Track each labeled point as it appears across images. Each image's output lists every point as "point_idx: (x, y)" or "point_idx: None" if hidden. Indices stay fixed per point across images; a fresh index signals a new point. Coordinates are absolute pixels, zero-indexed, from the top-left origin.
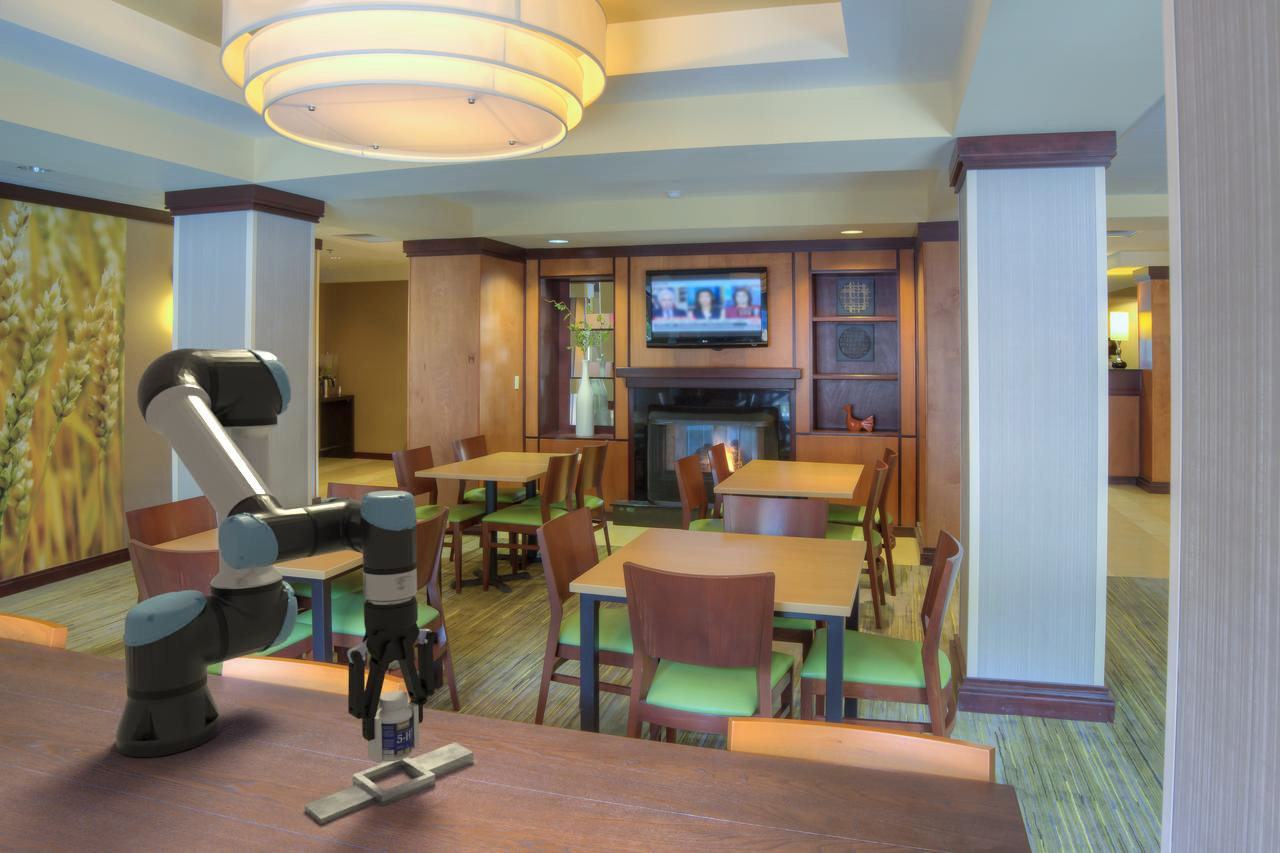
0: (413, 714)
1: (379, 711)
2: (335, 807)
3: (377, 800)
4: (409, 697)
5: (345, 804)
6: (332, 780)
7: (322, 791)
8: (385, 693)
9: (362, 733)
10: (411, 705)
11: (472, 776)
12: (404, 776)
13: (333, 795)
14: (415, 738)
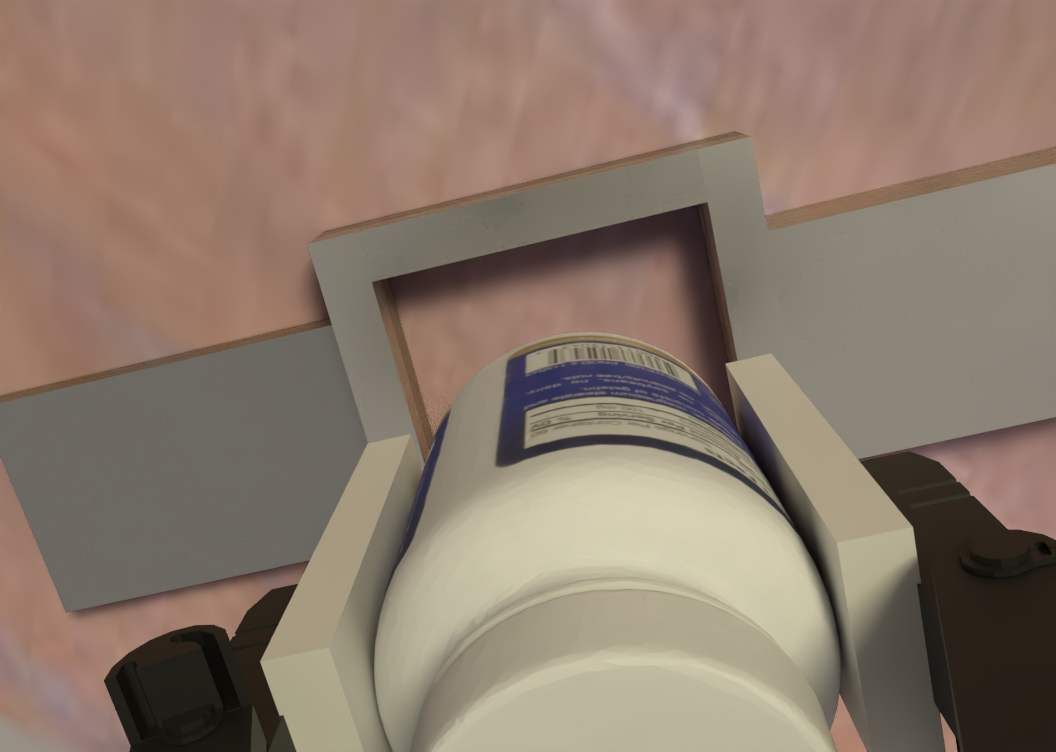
0: (840, 686)
1: (425, 677)
2: (158, 537)
3: None
4: (933, 570)
5: (219, 534)
6: (205, 73)
7: (123, 202)
8: (539, 711)
9: (243, 620)
10: (866, 709)
11: (1052, 536)
12: (673, 297)
13: (163, 384)
14: None
